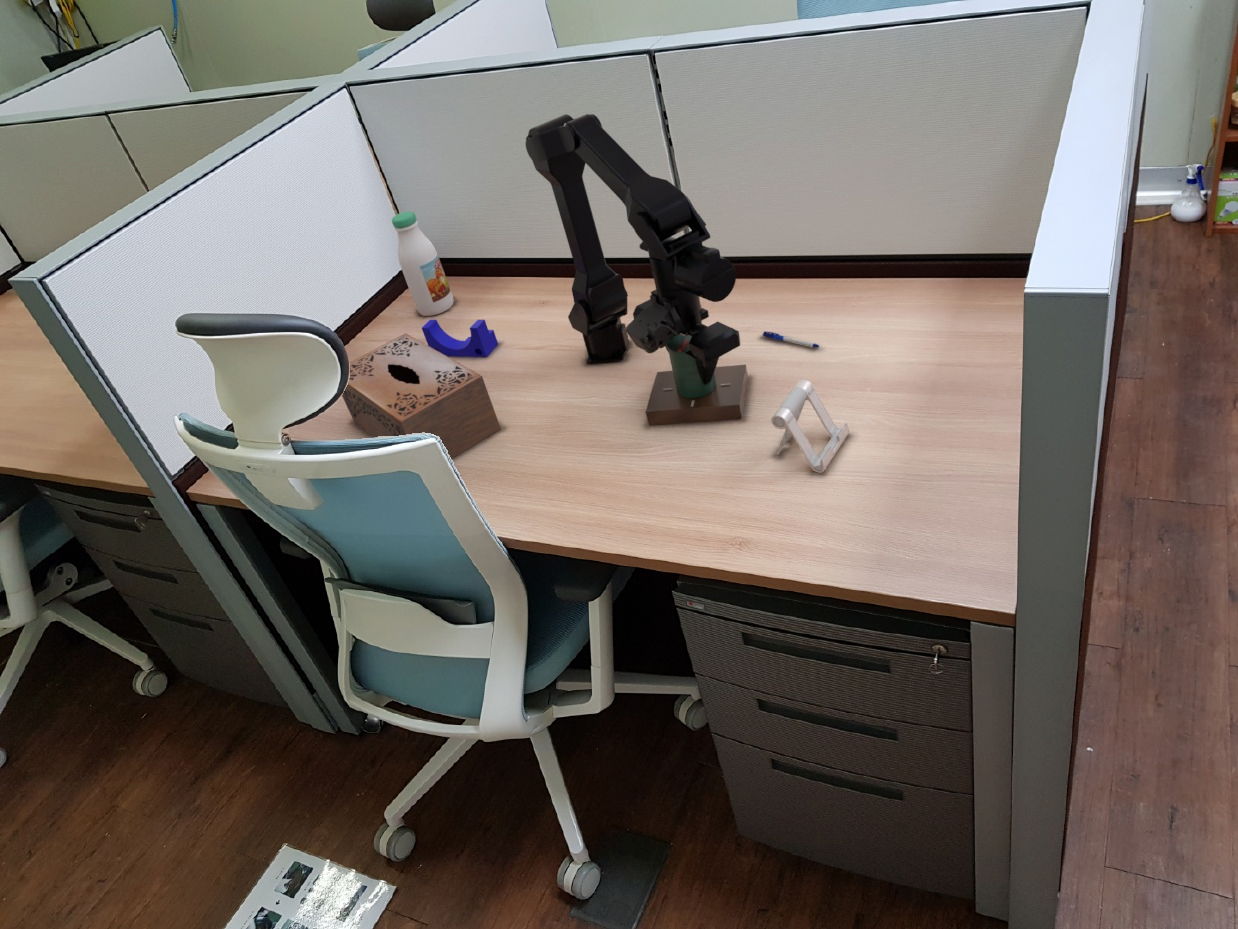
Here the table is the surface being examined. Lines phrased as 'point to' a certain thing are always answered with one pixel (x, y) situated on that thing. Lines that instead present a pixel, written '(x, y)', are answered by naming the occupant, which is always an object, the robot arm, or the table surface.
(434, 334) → the cable clip
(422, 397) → the tissue box cover
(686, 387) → the rotary knob
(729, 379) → the dial knob base plate
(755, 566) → the table surface
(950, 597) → the table surface
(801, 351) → the table surface
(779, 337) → the ballpoint pen
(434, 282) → the milk bottle
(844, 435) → the tablet stand
